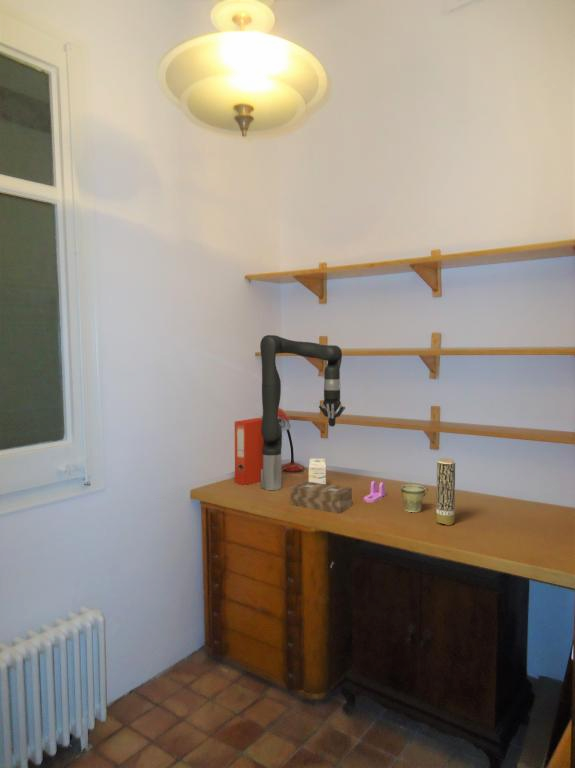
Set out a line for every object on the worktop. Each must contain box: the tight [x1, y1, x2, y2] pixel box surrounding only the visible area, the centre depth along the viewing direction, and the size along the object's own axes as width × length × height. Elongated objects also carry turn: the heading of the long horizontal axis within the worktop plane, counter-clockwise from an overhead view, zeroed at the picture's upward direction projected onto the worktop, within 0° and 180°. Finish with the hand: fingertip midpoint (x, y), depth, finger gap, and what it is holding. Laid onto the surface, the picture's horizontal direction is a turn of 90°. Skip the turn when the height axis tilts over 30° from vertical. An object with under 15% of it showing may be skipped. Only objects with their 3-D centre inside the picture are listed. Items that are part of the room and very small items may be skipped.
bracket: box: [363, 480, 386, 503], centre depth 240 cm, size 13×6×7 cm, turn 145°
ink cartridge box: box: [308, 457, 327, 484], centre depth 257 cm, size 9×5×15 cm, turn 84°
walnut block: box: [290, 480, 353, 514], centre depth 230 cm, size 24×12×8 cm, turn 59°
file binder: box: [234, 417, 264, 486], centre depth 271 cm, size 8×17×32 cm, turn 139°
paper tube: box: [435, 458, 456, 524], centre depth 206 cm, size 7×7×25 cm
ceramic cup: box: [400, 484, 429, 513], centre depth 223 cm, size 13×10×10 cm
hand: (332, 426), depth 242 cm, fingers closed
